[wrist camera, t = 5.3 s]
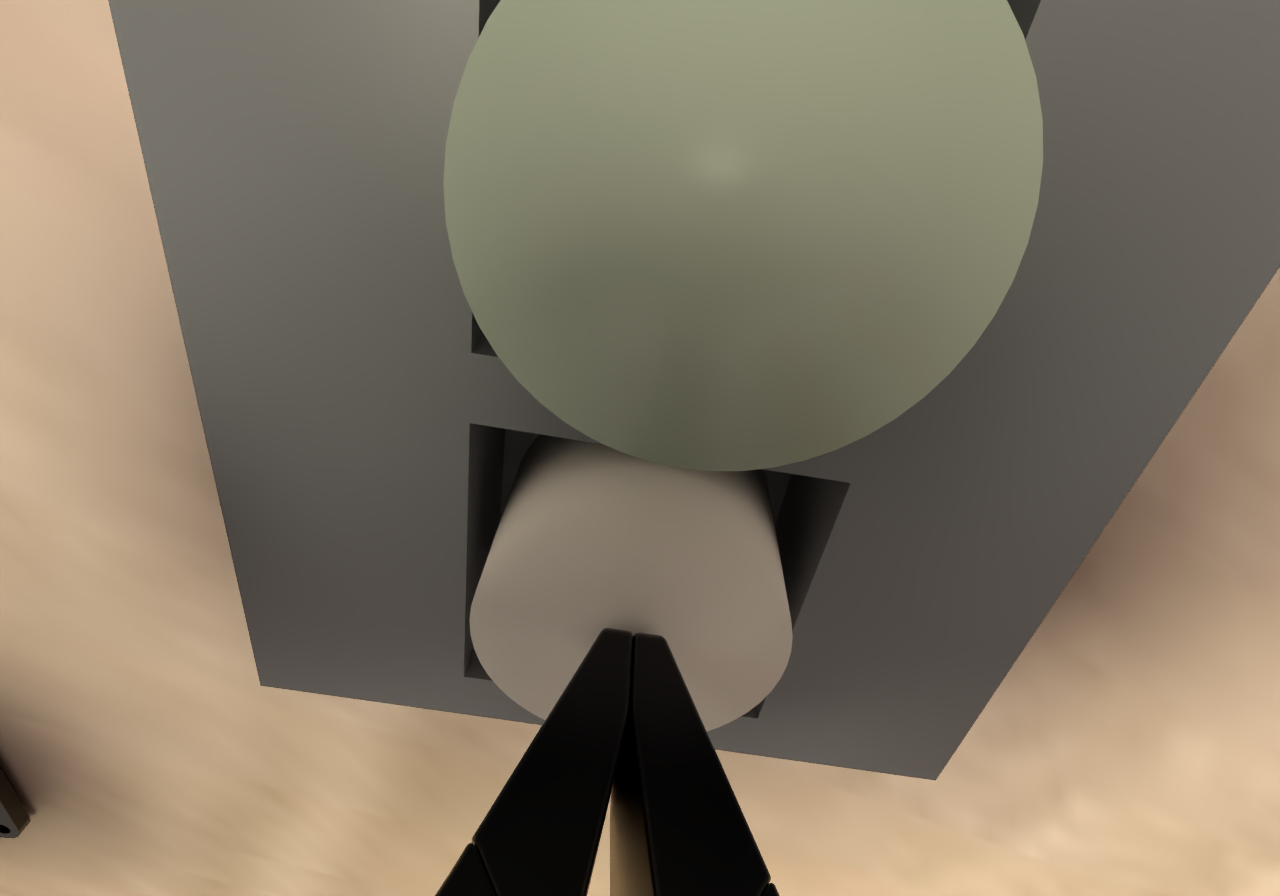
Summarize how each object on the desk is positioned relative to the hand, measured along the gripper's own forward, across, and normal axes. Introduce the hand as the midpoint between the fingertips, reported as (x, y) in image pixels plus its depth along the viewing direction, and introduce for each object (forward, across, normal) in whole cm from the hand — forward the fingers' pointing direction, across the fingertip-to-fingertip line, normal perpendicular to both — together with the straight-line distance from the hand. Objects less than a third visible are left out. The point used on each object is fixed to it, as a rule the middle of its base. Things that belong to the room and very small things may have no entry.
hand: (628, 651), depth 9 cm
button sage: (+2, 0, -6) cm, 6 cm away
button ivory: (+3, 0, 0) cm, 3 cm away
